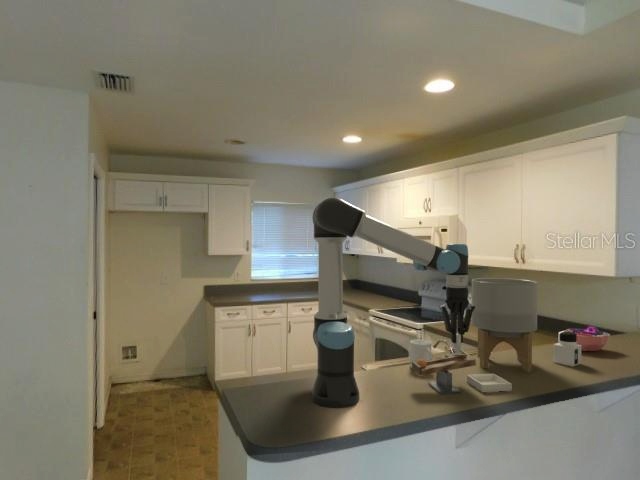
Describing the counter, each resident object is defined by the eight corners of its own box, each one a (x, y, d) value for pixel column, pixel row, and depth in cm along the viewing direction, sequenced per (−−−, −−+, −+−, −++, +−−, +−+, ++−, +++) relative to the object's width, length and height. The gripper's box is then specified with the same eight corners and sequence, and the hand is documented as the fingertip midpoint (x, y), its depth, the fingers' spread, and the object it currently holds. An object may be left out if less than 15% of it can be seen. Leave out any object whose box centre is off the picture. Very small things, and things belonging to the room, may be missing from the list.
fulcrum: (440, 394, 139) (440, 373, 139) (428, 384, 149) (428, 364, 149) (460, 393, 140) (460, 372, 140) (447, 383, 150) (447, 363, 150)
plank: (420, 375, 140) (419, 367, 139) (406, 364, 152) (405, 356, 152) (476, 365, 142) (475, 356, 142) (458, 354, 155) (457, 347, 155)
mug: (441, 372, 162) (441, 345, 162) (422, 374, 159) (422, 347, 159) (423, 363, 173) (423, 338, 173) (406, 365, 171) (406, 340, 171)
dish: (482, 392, 141) (482, 384, 141) (466, 382, 151) (466, 374, 151) (511, 391, 142) (511, 383, 142) (494, 380, 153) (494, 373, 153)
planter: (458, 359, 180) (458, 279, 180) (499, 352, 191) (499, 277, 191) (508, 376, 158) (508, 284, 158) (550, 367, 169) (551, 282, 169)
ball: (420, 371, 142) (418, 361, 141) (416, 368, 145) (414, 359, 145) (429, 368, 142) (427, 359, 142) (425, 365, 145) (423, 356, 145)
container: (581, 363, 175) (581, 332, 175) (572, 367, 170) (572, 334, 170) (562, 359, 181) (562, 329, 181) (553, 362, 177) (553, 331, 177)
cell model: (553, 346, 204) (553, 322, 204) (591, 345, 207) (591, 322, 207) (578, 355, 188) (578, 330, 188) (620, 354, 190) (620, 329, 190)
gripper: (444, 287, 148) (444, 355, 148) (479, 287, 150) (479, 353, 150) (435, 285, 155) (435, 349, 155) (468, 285, 157) (468, 348, 157)
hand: (457, 351), depth 152 cm, fingers closed
